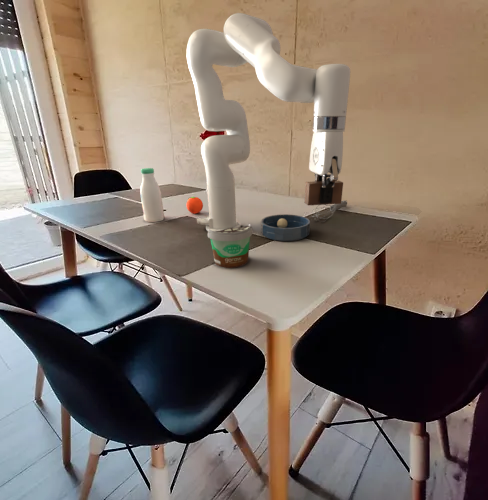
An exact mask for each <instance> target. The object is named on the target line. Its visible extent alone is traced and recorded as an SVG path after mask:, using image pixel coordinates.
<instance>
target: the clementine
mask: <svg viewBox="0 0 488 500" xmlns="http://www.w3.org/2000/svg"><path fill="white" fill-rule="evenodd" d="M203 208H204V203H203V201H202V199H201V198H199V197H197V196H190V197H188V199H187V201H186V209H187V211H188V212H189V213H191V214H199V213H200V212H201V211H202V210H203Z"/></svg>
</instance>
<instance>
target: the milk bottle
mask: <svg viewBox="0 0 488 500" xmlns="http://www.w3.org/2000/svg"><path fill="white" fill-rule="evenodd" d="M140 173H141V176H142V179H141V180H142V181H141V184H140V189H139V192H140V193H139V194H140V202H141V209H142V214H143V220H144V221H145V222H147V223H157V222H160V221H164V220H165V213H164V205H163V198H162V191H161V187H160V186H159V183H158V182H157V180H156V178H155V169H154V168H153V167H145V168H141V169H140Z"/></svg>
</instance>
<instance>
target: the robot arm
mask: <svg viewBox="0 0 488 500" xmlns="http://www.w3.org/2000/svg"><path fill="white" fill-rule="evenodd" d="M222 29H223V32H222V31H219V30H216V29H210V28H199V29H196V30H194V31H192V33H191V34H190V36H189V38H188V41H187V45H186V61H187V67H188V71H189V73H190V76H191V79H192V83H193V86H194V92H195V98H196V103H197V109H198V114H199V118H200V124H201V126H202V128H203V129H204V130H206V131H208V132H226V134H217V135H216V134H215V135H210V136H208V137H207V138H205V139H204V140H203V141H202V143H201V145H200V154H201V158H202V162H203V165H204V166H203V167H204V171H205V179H206V191H207V192H206V193H207V204H208V214H207V217H205V218H196V224H197V225H200V226H205V230H206V232H208V231H209V229H210V230H212V231H220V230H224V229H227V228H241V227H242V225H241V223H240V222H239V221H237V206H236V205H237V204H236V184H235V183H236V182H235V176H234V173H233V171H232V169H231V167H230V165H235V164H240V163H244V162H247V160H248V158H249V157H250V153H251V142H250V134H249V128H248V121H247V115H246V114H247V113H246V111H245V109H244V107H243V105H242V103H240V102H239V101H237V100H233V99H226V98H225V96H224V91H223V84H222V82H221V78H220V77H219V75H218V73H217V71H216V70H215V68H214V65H216V66H222V67H228V68H238V67H241V66H243V65H246V64H247V63H248V64H249V65H251V66H252V67H253V68H254V70H255V74H256V77H257V80H258V81H259V83H260V84H261V85H262V86H263V87H264V88H265V89H266V90H267V91H269V92H270V93H271V94H272V95H273V96H274V97H276V98H277V99H279V100H281V101H283V102H286V103H301V104H313V117H312V139H311V143H310V144H311V145H310V152H309V160H308V161H309V163H308V170H309V171H310V172H311V173H314V181H322V187H320V199H319V202H320V203H331V202H332V196H333V187H334V183H335V181H338V180H339V175H340V174H341V171H342V165H343V154H344V153H343V152H344V133H345V132H346V123H347V122H346V121H347V112H348V102H349V91H350V82H351V67H350V66H348V65H347V64H344V63H329V64H328V63H327V64H322V65H321V66H319V67H318V68H311V67H308V66H307V67H306V66H301V65H295V64H292V63H290V62H289V61H288V60H286V59H285V58H284V57H282V56H281V43H280V41H279V39H278V37H276V36H275V35H274V33H273V30H272V27H271V25H270V24H269V23H268V22H267V21H266V20H264V19H262V18H260V17H256V16H254V15H251V14H246V13H243V12H236V13H232V14H231V15H230V16H228V17H227V19H226V20H225V22H224V24H223V28H222Z"/></svg>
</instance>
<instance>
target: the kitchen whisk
mask: <svg viewBox="0 0 488 500" xmlns="http://www.w3.org/2000/svg"><path fill="white" fill-rule="evenodd" d="M347 205H348V200H347V199H346V200H341V204H326V205H325V206H324V205H323V207H322V209H325V208H326V209H328V210H324V211H318V212H317V213H314V210H318V209H319V206H320V205H316V208H314V209H312V211H311V212H312V214H313V215H311V218H314V217H315V218H314V221H315V222H317V221H319V222H320V223H322V221H321V220H322V219H324V222H326V221H327V220H328V219H329V218H331V217H332V216H333V215H334V213H335V212H336V211H338V210H341V209H343V208H344V207H346V206H347ZM328 206H329V207H328ZM328 213H330V215H329V216H328V217H326V216H327V215H328ZM323 214H324V217H321V216H320V215H323ZM325 219H326V220H325Z"/></svg>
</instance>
